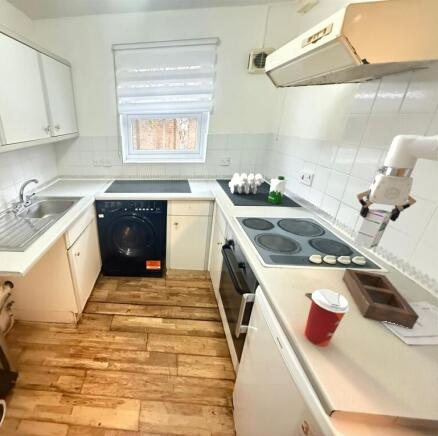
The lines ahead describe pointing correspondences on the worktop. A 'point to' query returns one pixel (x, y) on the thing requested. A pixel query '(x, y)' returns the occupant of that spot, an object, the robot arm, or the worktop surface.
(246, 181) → the white lumpy cluster
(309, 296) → the meat cleaver
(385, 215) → the syrup box
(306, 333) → the coffee cup
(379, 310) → the holder
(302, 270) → the worktop surface
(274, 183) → the milk carton
